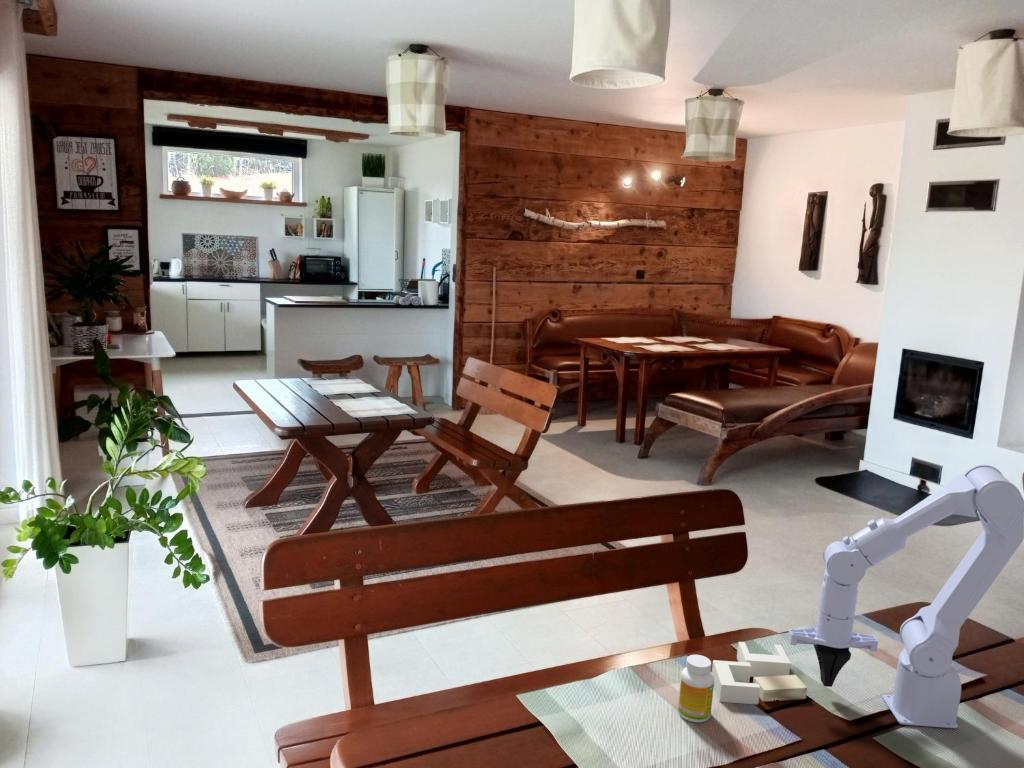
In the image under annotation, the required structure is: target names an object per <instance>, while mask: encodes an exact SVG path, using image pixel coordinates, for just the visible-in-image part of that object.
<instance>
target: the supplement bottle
mask: <svg viewBox="0 0 1024 768" xmlns="http://www.w3.org/2000/svg"><path fill="white" fill-rule="evenodd" d="M680 673H681V674H680V682H679V694H678V703H677V712H678V714H679V716H680V717H682V718H683V719H684V720H685V721H686V720H687V721H688V722H693V723H704V722H705V723H706V722H707V721H708V720H709V719H710V718H711V716H712V706H713V695H714V688H715V686H714V676H713V674H712V661H711V660H710V658H708V657H706V656H704V655H701V654H690V655H689V656H687V658H686V663H685V667H684V668H683V669H682V670H681V672H680Z"/></svg>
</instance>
